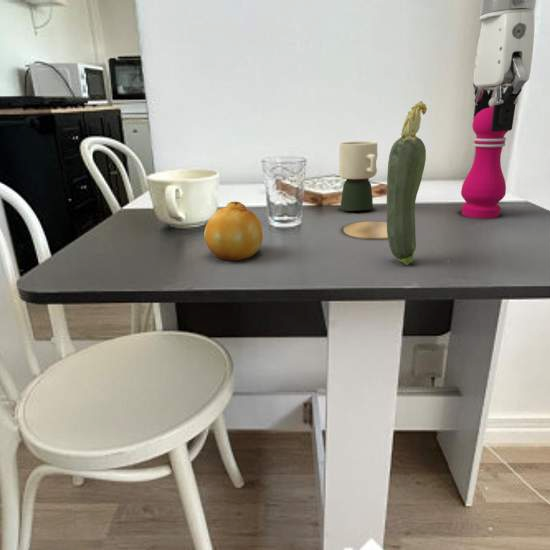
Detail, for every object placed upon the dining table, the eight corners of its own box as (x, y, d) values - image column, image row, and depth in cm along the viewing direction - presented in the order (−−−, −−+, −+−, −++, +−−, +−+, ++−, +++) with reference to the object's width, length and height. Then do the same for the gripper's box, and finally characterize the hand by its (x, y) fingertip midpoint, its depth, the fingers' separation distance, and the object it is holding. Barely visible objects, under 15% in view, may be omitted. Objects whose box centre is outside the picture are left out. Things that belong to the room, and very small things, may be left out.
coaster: (401, 224, 76) (401, 221, 76) (409, 240, 67) (409, 237, 67) (343, 224, 78) (343, 221, 78) (343, 240, 69) (343, 237, 68)
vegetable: (380, 266, 57) (388, 102, 50) (384, 256, 61) (392, 102, 54) (416, 269, 56) (429, 100, 48) (418, 258, 59) (431, 100, 52)
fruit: (275, 232, 66) (245, 188, 63) (269, 254, 59) (234, 205, 56) (232, 258, 69) (201, 216, 66) (221, 281, 61) (186, 236, 59)
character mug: (388, 214, 83) (392, 143, 78) (356, 219, 81) (358, 146, 76) (356, 204, 93) (358, 139, 88) (327, 208, 90) (327, 142, 85)
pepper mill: (490, 222, 75) (508, 96, 68) (451, 216, 80) (463, 98, 73) (509, 214, 79) (527, 95, 72) (470, 209, 84) (483, 97, 77)
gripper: (567, -7, 60) (543, 131, 66) (503, 16, 76) (489, 126, 82) (512, -5, 60) (493, 134, 66) (460, 18, 76) (449, 128, 82)
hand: (491, 128), depth 74 cm, fingers closed on pepper mill, 6 cm apart
